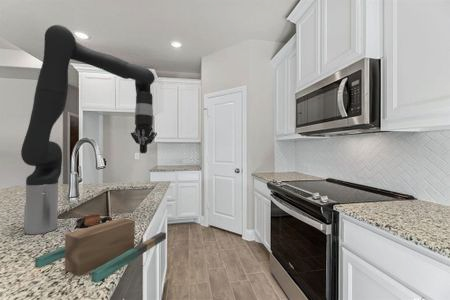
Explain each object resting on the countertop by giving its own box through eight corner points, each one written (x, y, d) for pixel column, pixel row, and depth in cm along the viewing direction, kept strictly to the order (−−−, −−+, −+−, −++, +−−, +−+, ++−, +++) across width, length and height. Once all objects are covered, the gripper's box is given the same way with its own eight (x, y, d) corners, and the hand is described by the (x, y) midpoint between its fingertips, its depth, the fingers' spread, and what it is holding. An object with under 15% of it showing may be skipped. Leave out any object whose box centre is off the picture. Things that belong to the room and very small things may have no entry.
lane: (35, 265, 57) (35, 258, 57) (117, 231, 82) (117, 225, 82) (97, 282, 50) (98, 273, 50) (165, 238, 76) (165, 232, 76)
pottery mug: (73, 244, 71) (69, 219, 74) (81, 246, 79) (77, 224, 82) (114, 230, 76) (109, 207, 79) (117, 233, 84) (113, 212, 87)
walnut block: (64, 270, 55) (65, 234, 55) (120, 246, 69) (121, 217, 69) (78, 276, 52) (79, 238, 52) (134, 250, 67) (134, 220, 67)
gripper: (126, 114, 98) (125, 153, 98) (151, 112, 94) (150, 153, 94) (137, 116, 105) (137, 153, 105) (161, 115, 101) (160, 153, 101)
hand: (143, 153), depth 100 cm, fingers closed
